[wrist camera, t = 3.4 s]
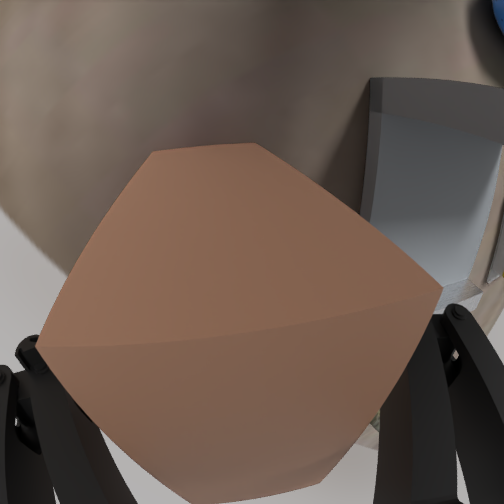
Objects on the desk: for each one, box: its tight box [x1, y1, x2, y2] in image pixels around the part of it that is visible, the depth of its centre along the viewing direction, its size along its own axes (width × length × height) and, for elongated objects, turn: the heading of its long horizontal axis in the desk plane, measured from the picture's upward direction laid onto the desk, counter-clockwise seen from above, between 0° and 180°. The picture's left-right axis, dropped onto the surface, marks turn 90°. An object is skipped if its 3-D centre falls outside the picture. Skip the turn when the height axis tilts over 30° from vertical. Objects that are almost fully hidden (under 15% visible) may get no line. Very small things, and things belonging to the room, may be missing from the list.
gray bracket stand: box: [360, 78, 504, 286], centre depth 14 cm, size 20×14×10 cm
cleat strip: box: [433, 278, 483, 314], centre depth 19 cm, size 2×14×2 cm, turn 91°
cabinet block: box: [35, 143, 444, 504], centre depth 10 cm, size 11×5×12 cm, turn 1°
